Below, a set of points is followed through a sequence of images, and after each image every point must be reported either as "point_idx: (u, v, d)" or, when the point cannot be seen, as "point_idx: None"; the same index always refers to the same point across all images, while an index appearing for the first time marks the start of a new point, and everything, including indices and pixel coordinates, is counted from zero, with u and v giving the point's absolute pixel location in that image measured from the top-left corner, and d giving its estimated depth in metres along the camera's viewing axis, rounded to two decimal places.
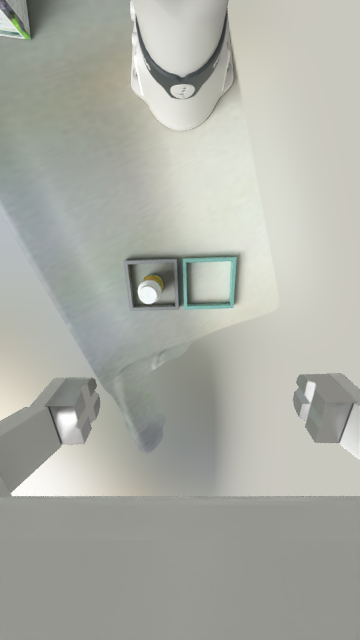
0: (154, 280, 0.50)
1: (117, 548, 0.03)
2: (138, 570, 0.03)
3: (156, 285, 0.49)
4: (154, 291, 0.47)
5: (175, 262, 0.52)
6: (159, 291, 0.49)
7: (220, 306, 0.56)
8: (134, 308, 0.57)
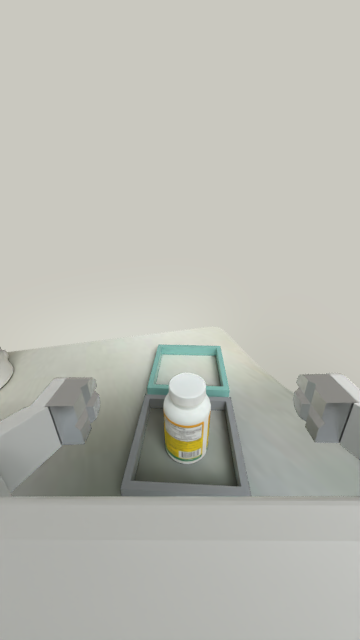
0: None
1: (117, 548, 0.03)
2: (138, 570, 0.03)
3: None
4: (180, 374, 0.25)
5: (149, 396, 0.33)
6: None
7: (219, 355, 0.42)
8: (242, 482, 0.22)
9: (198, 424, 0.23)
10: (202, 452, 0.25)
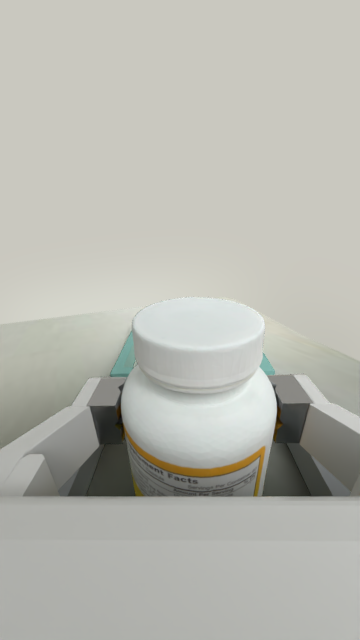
0: None
1: (117, 548, 0.03)
2: (138, 570, 0.03)
3: None
4: (172, 300, 0.08)
5: None
6: None
7: None
8: None
9: (249, 459, 0.06)
10: None
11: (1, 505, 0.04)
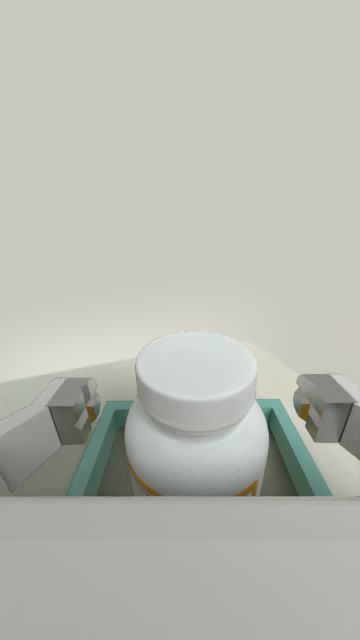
0: None
1: (117, 548, 0.03)
2: (138, 570, 0.03)
3: None
4: (172, 336, 0.09)
5: None
6: None
7: (292, 439, 0.13)
8: None
9: (242, 494, 0.06)
10: None
11: (1, 505, 0.04)
